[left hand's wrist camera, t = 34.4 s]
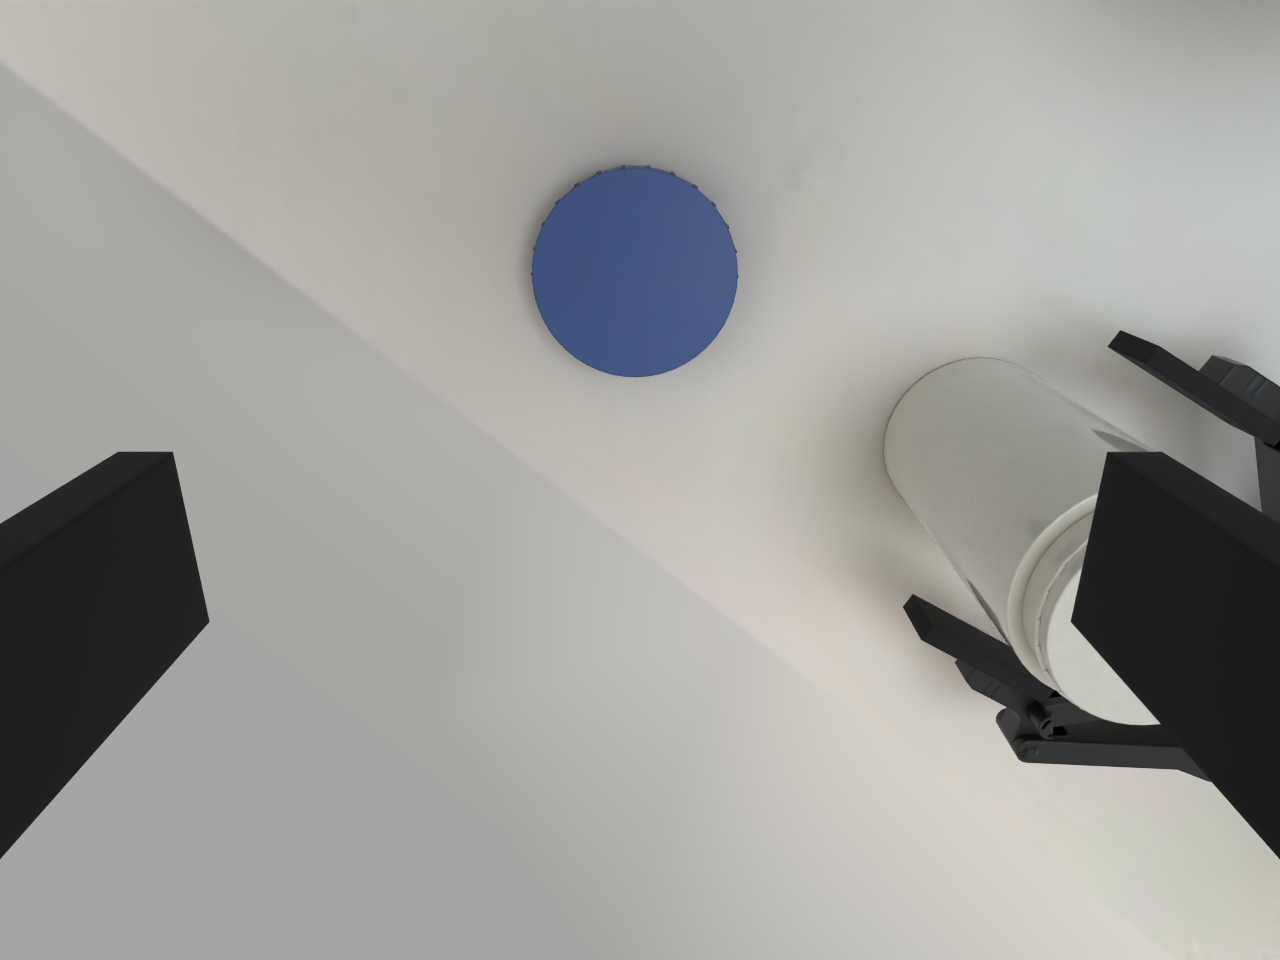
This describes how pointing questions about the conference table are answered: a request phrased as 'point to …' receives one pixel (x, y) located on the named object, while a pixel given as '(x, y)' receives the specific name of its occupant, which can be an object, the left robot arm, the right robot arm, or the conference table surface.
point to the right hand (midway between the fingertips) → (1016, 489)
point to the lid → (634, 271)
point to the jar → (1014, 510)
